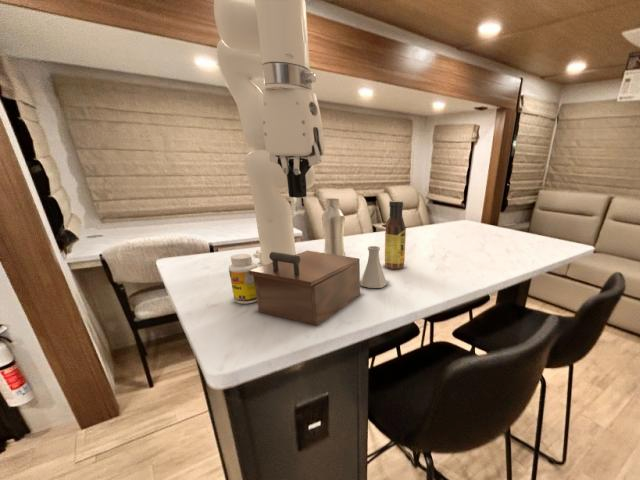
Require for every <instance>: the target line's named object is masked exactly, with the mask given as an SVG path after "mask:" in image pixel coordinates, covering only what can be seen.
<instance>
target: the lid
mask: <svg viewBox="0 0 640 480" xmlns="http://www.w3.org/2000/svg"><path fill="white" fill-rule="evenodd" d="M269 257H270V259H271V260H272V263H269V264H266V265H263V266H261V267H258V268H255V269H252V270H249V274H250V275H255V276H260V277H265V278H271V279H276V280H281V281H286V282H291V283H296V284H301V285H306V286H313V285H315V284H317V283H319V282H321V281H323V280H325V279H327V278H329V277H331V276H333V275H335V274H337V273H339V272H341V271H343V270H344V269H346V268H348V267H350V266H352V265H354V264H356V263H358V262H360V259H361V258H358V257H352V256H346V255H345V256H340V255H333V254H326V253H324V252H321V251H314V250H313V251H312V250H305V251H302V252H298V253H296V255H290V254H284V253H278V252H271V253H270V255H269Z"/></svg>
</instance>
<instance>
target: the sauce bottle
mask: <svg viewBox="0 0 640 480" xmlns="http://www.w3.org/2000/svg"><path fill="white" fill-rule="evenodd" d="M388 207H389V217H388V219H387V221H386V223H385V233H384V266H385V267H386V268H387V269H390V270H398V269H399V270H400V269H402V268H404V266H405V261H406V260H405V259H406V236H407V229H406V225H405V221H404V218H403V207H404V201H403V200H390V201H389V205H388Z"/></svg>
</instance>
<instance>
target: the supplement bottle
mask: <svg viewBox="0 0 640 480" xmlns="http://www.w3.org/2000/svg"><path fill="white" fill-rule="evenodd" d="M252 258H253V257H252V255H251V254H248V253H238V254H233V255H231V256H230V262H231V264H229V266H228V272H229V278H230V283H231V289H232V293H233V298H234V301H235V302H236V303H238V304H243V305H244V304H245V305H247V304H253V303H256V302H257V296H256V290H255V283H254V277H253V275H250V274H249V270H252V269H255V268H257V265H258V264H256V263H255V262H253V259H252Z"/></svg>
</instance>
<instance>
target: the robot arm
mask: <svg viewBox="0 0 640 480" xmlns="http://www.w3.org/2000/svg"><path fill="white" fill-rule="evenodd" d="M306 4H307V3H306V0H213V16H214V21H215V26H216V30H217V33H218V36H219V37H220V40H219V41H217V44H216V58H217V63H218V67H219V71H220V73H221V76H222V79H223V81H224V83H225V86H226V88H227V90H228V91H229V93H230V95H231V96H232V98H233V100H234V102H235V104H236V107H237V111H238V115H239V120H240V125H241V129H242V134H243V137H244V140H245V144H246V145H247V147H248V148H249V149H250V150H251V151H250V152H249V153H247V154H246V156H244V160H243V164H244V170H245V171H244V172H245V175H246V178H247V180H248V181H247V182H248V185H249V188H250V192H251V196H252V200H253V201H252V202H253V207H254V208H253V209H254V214H255V221H256V227H257V234H258V241H259V247H260V249H257V250H256V251H255V253H253V255H252V256H253V257H252V258H254V259H258V260H259V263H258V264H256V265H257V268H258V267H261V266H263V265H266V264H269V263H272V260H271V259H270V257H269V255H270V253H271V252H278V253H284V254H290V255H296V254H297V251H296V242H295V240H296V239H295V232H294V221H293V211H292V210H293V209H292V206H291V204H290V202H289V200H287V199H286V197H285V196H284V195H283V194H282V193H281V192H280V191H284V190H288V196H289V197H290V198H295V199H299V198H306V197H307V195H308V194H307V191H308V189H311V188H312V187H313V186H314V184H315V182H316V170H315V166H316V165H320V164H321V163H322V157H323V155H324V154H325V138H324V129H323V120H322V115H321V109H320V105H319V101H318V98H317V94H316V92H313V91H312V84H313V83H316V82H317V77H316V74H315V72H311V63H310V49H309V48H310V47H309V31H308V15H307V5H306ZM252 81H257V82H263V84H264V90H263V91H262V90H261V89H260V88H259V86H258V85H256V84H255V83H254V82H252ZM289 197H288V198H289Z"/></svg>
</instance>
